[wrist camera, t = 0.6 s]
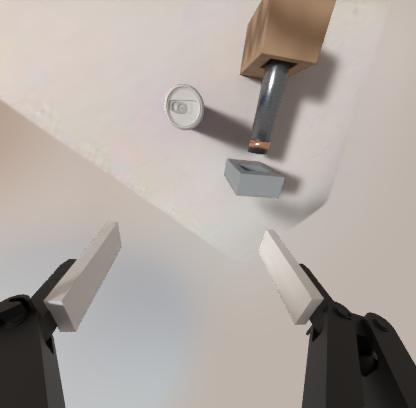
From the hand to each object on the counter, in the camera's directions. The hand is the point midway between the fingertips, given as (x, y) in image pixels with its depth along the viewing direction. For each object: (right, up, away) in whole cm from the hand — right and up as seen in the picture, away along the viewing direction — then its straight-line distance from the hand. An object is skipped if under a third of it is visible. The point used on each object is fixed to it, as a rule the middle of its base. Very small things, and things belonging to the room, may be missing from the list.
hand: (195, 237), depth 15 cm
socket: (+9, +12, +25) cm, 29 cm away
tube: (+12, +23, +13) cm, 29 cm away
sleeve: (+12, +31, +16) cm, 37 cm away
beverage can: (-3, +22, +19) cm, 29 cm away
